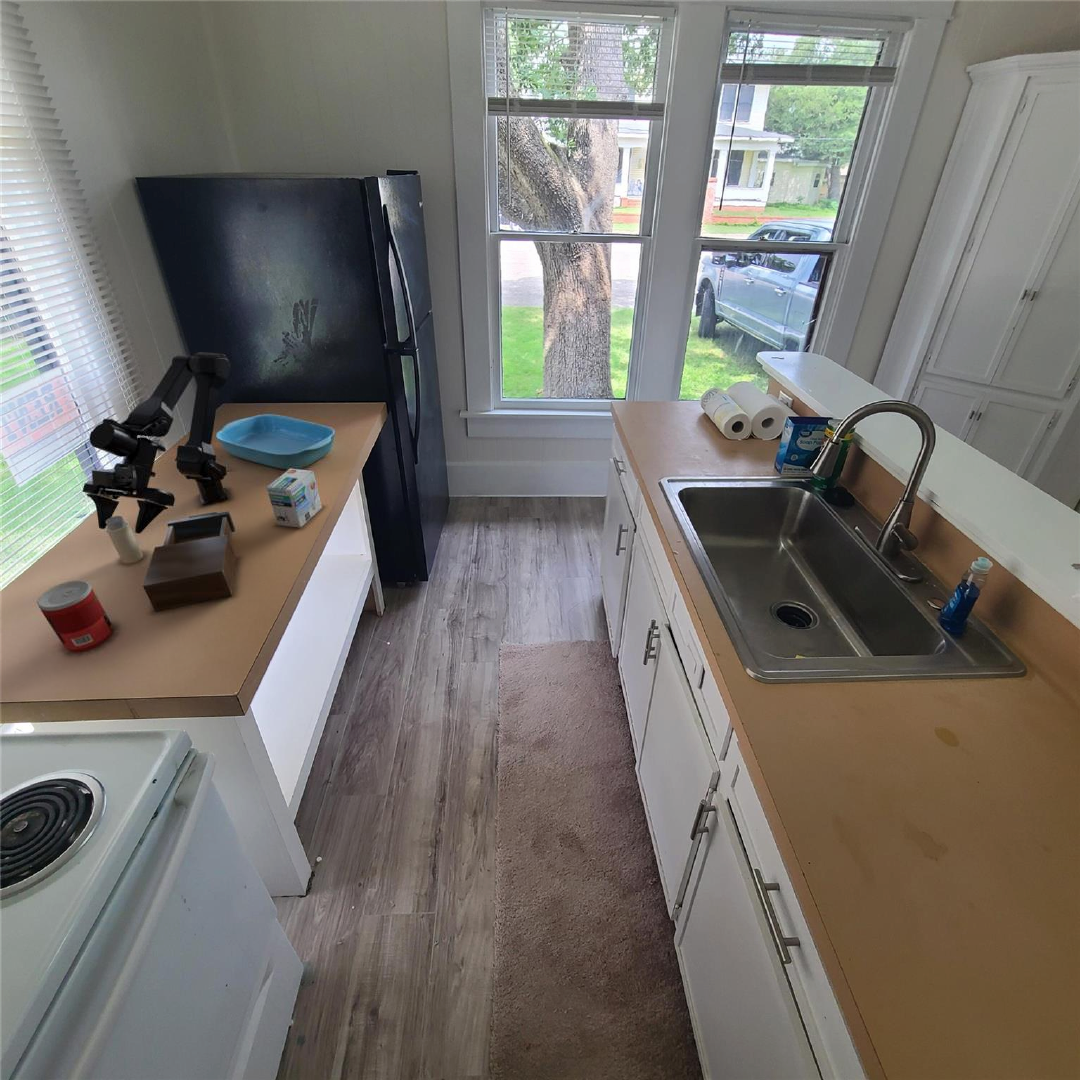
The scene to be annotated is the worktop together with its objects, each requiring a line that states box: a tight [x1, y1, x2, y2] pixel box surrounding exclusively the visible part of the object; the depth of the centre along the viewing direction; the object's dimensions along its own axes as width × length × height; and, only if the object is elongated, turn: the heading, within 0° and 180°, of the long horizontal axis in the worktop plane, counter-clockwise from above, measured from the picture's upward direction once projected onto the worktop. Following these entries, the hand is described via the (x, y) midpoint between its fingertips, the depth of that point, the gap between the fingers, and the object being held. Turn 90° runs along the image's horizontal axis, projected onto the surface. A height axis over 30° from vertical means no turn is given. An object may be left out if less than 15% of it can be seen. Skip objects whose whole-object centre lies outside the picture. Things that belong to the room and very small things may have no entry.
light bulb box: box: [266, 469, 323, 529], centre depth 144 cm, size 11×7×11 cm, turn 168°
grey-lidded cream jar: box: [105, 515, 144, 564], centre depth 128 cm, size 4×4×10 cm
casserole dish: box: [215, 413, 336, 471], centre depth 175 cm, size 37×22×7 cm, turn 66°
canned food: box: [36, 580, 114, 653], centre depth 107 cm, size 8×8×11 cm
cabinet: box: [142, 535, 237, 613], centre depth 122 cm, size 14×14×7 cm
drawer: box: [162, 511, 236, 546], centre depth 133 cm, size 17×13×5 cm
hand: (119, 531), depth 127 cm, fingers open, 9 cm apart
